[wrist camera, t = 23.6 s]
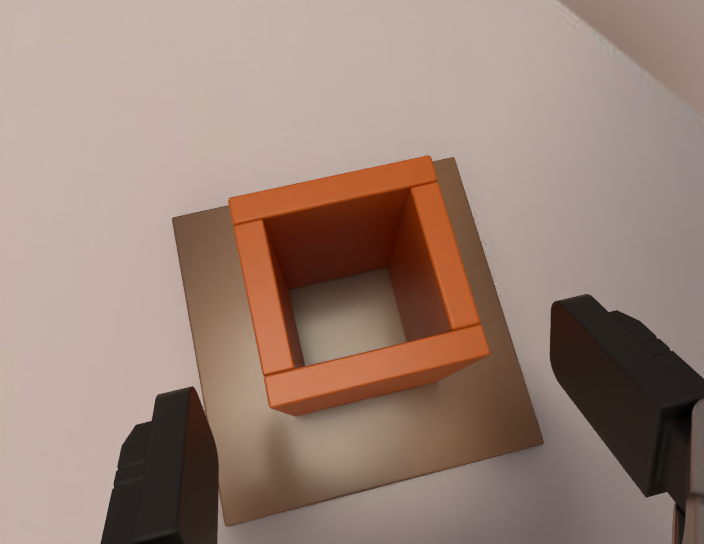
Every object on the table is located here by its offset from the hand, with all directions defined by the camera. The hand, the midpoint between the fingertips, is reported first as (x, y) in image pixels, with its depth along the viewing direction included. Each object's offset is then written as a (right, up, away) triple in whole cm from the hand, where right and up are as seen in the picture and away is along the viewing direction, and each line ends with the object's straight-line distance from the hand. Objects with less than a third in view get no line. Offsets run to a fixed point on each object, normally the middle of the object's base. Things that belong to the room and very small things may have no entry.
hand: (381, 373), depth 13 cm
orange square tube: (-1, 0, +10) cm, 10 cm away
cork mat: (-1, 0, +10) cm, 10 cm away
